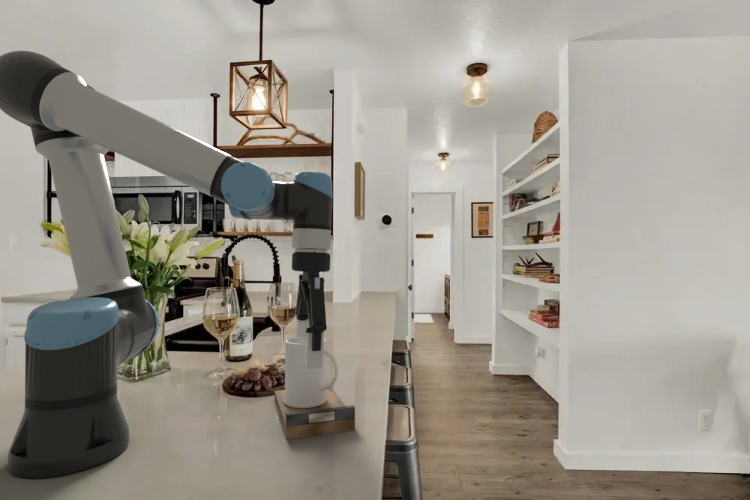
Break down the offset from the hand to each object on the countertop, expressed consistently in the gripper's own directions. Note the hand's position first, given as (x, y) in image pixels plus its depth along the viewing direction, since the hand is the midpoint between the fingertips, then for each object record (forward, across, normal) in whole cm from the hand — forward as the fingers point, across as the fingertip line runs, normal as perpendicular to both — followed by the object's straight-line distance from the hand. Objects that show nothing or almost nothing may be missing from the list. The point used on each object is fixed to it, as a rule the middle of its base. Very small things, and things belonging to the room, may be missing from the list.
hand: (308, 359), depth 83 cm
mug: (+8, -1, -1) cm, 9 cm away
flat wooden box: (+10, -1, -1) cm, 10 cm away
